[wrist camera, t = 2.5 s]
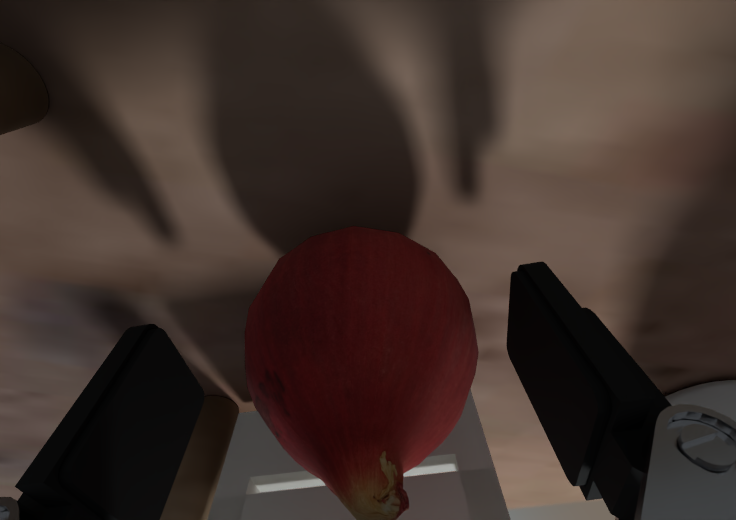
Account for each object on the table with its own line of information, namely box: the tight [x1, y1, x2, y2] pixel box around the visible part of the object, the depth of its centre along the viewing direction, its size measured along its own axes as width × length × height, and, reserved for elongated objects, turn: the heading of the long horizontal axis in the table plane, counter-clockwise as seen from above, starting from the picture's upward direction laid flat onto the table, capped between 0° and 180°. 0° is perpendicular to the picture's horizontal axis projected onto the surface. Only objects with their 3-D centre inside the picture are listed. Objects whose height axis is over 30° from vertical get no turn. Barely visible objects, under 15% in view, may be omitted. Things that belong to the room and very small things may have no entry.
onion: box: [245, 226, 478, 520], centre depth 9 cm, size 6×6×8 cm
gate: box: [207, 389, 510, 520], centre depth 13 cm, size 10×1×6 cm, turn 99°
